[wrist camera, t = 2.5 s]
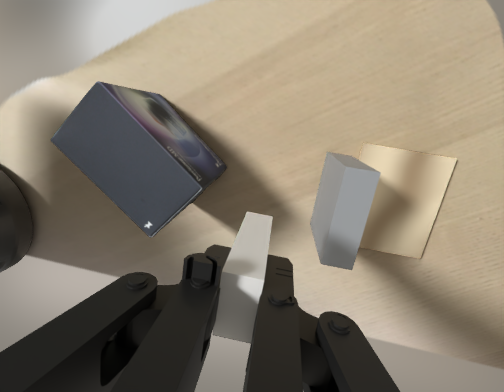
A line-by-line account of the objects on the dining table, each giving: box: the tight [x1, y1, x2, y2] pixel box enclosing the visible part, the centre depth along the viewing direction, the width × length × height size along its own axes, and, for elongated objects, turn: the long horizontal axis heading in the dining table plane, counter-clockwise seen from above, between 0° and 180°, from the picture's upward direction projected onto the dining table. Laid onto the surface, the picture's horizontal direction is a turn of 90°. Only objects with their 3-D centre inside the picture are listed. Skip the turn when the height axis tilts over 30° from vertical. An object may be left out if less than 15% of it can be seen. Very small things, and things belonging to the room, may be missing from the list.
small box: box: [51, 81, 227, 237], centre depth 26 cm, size 11×6×10 cm, turn 43°
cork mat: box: [358, 143, 457, 259], centre depth 30 cm, size 9×11×1 cm
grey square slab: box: [310, 152, 381, 270], centre depth 26 cm, size 3×8×9 cm, turn 171°
